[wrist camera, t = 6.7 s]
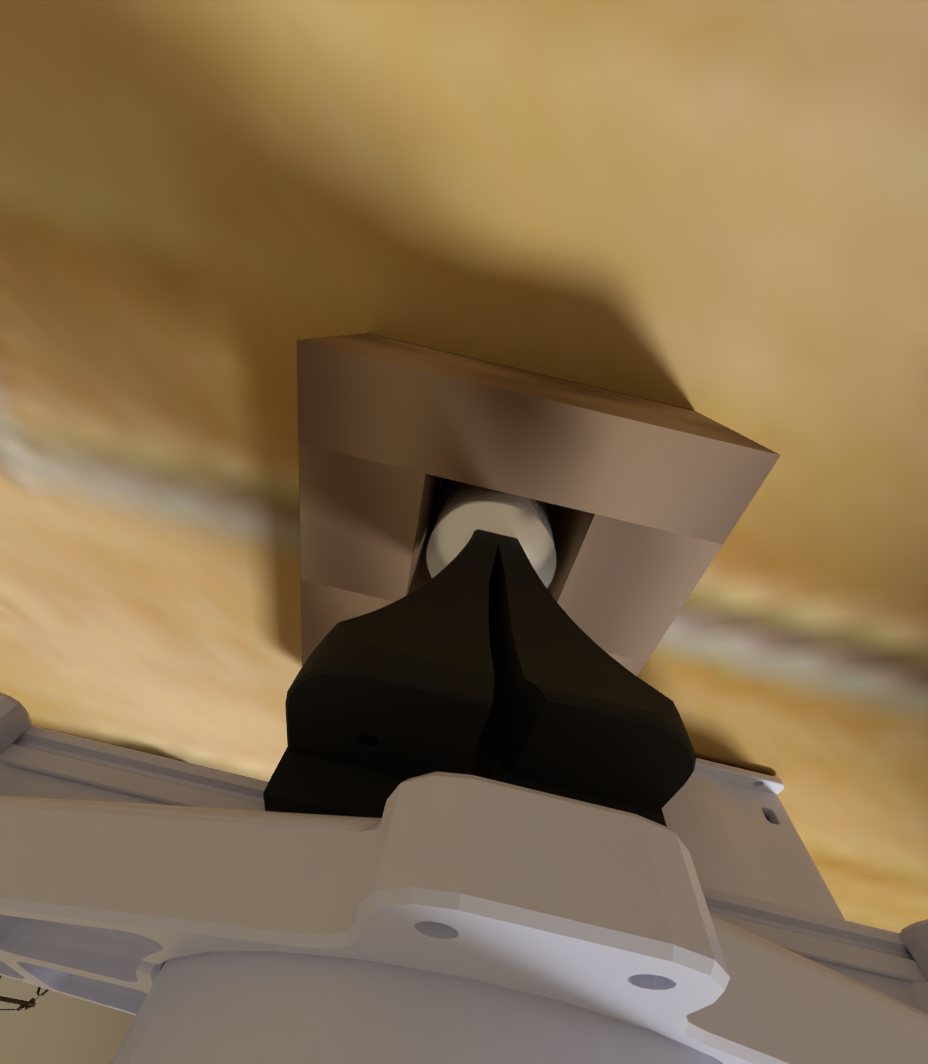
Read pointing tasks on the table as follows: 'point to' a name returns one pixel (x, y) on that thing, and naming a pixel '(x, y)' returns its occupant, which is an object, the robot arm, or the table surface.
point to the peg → (492, 526)
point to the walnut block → (507, 483)
